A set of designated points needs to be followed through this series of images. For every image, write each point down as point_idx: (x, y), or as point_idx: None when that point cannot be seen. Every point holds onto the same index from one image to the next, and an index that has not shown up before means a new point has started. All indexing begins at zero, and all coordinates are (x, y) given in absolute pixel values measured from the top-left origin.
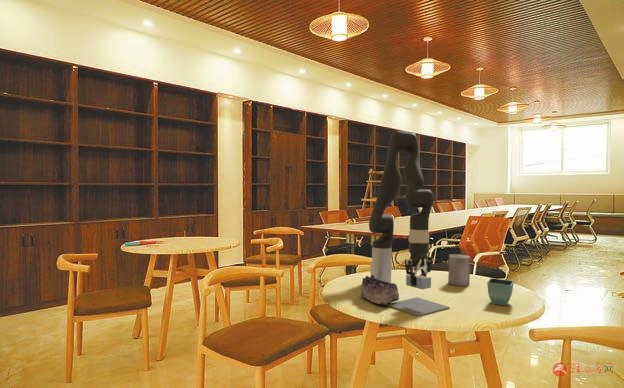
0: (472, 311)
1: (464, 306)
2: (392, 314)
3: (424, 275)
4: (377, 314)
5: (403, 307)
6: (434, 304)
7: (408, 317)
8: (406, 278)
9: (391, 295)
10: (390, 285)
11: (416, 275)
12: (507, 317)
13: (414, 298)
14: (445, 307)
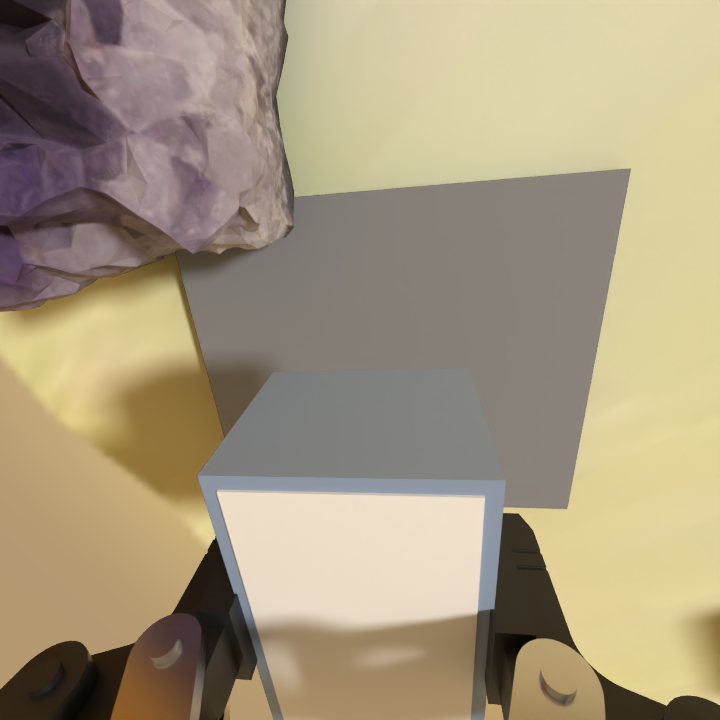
0: (623, 590)
1: (706, 524)
2: (119, 389)
3: (486, 679)
4: (22, 340)
5: (249, 353)
6: (530, 423)
7: (185, 469)
8: (232, 436)
9: (151, 253)
10: (81, 211)
11: (363, 601)
12: (661, 700)
13: (556, 194)
14: (528, 501)
